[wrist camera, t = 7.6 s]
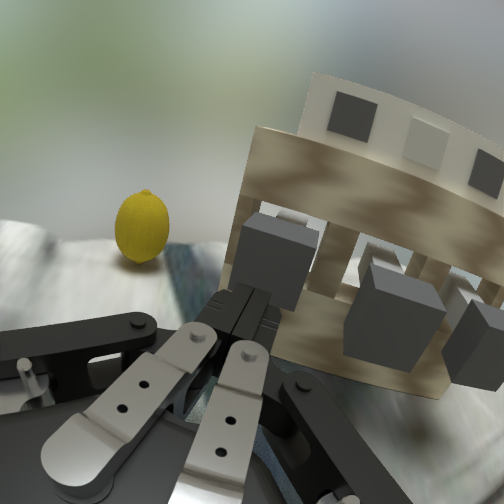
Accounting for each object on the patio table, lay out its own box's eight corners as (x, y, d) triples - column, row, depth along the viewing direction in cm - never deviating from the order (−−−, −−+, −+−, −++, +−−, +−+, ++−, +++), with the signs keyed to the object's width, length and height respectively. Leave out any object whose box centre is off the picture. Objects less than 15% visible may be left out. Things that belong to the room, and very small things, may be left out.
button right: (451, 382, 14) (489, 326, 12) (419, 299, 23) (440, 255, 21) (495, 391, 13) (532, 340, 12) (456, 311, 22) (477, 270, 21)
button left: (227, 289, 18) (242, 224, 16) (264, 236, 27) (276, 192, 25) (293, 312, 17) (316, 248, 16) (309, 250, 26) (323, 206, 25)
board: (209, 333, 25) (255, 125, 18) (231, 298, 30) (273, 128, 24) (438, 399, 22) (533, 234, 15) (427, 358, 27) (500, 213, 21)
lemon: (161, 281, 30) (171, 202, 27) (107, 272, 29) (111, 193, 25) (167, 255, 35) (177, 186, 31) (120, 248, 33) (126, 179, 30)
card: (296, 136, 18) (313, 70, 17) (297, 136, 19) (314, 73, 17) (509, 220, 16) (527, 162, 14) (504, 217, 17) (521, 161, 15)
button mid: (343, 355, 15) (375, 288, 13) (342, 273, 24) (360, 226, 22) (409, 373, 14) (447, 312, 13) (388, 288, 23) (408, 243, 22)
